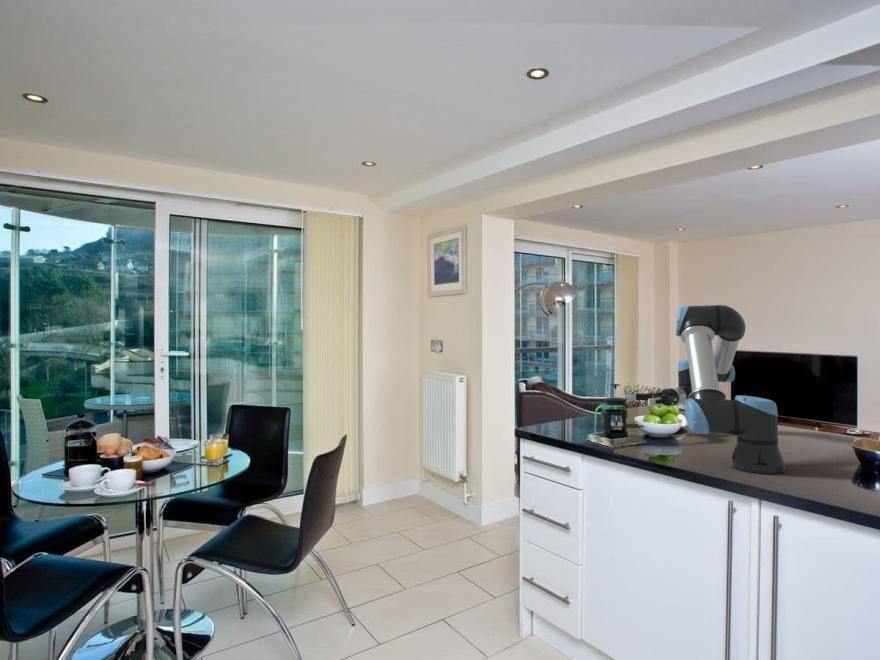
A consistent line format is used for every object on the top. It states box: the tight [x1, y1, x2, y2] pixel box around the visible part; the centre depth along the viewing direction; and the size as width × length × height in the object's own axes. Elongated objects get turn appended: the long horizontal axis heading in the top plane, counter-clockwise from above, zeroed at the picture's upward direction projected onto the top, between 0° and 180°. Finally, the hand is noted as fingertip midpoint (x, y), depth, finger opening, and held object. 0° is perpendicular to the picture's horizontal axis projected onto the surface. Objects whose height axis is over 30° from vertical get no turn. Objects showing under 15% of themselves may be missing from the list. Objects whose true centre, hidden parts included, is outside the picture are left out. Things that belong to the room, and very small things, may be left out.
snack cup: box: [594, 402, 629, 425], centre depth 245 cm, size 16×10×10 cm
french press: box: [603, 383, 629, 440], centre depth 210 cm, size 12×9×23 cm
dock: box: [584, 431, 647, 449], centre depth 210 cm, size 16×18×3 cm
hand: (636, 400), depth 214 cm, fingers open, 13 cm apart
